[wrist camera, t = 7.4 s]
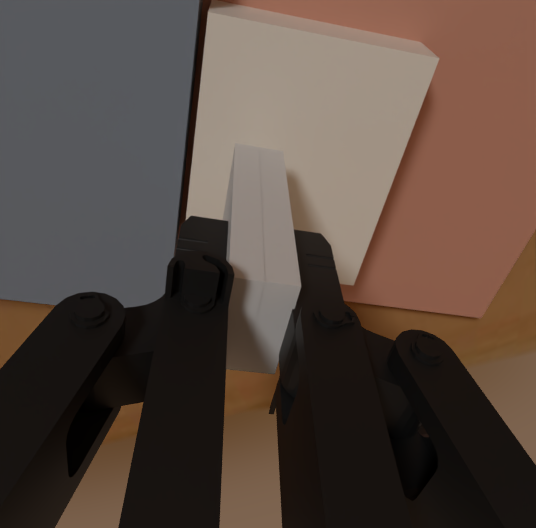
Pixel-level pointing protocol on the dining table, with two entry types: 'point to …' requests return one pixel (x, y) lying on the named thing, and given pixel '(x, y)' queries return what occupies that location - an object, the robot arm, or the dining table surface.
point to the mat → (443, 151)
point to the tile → (308, 117)
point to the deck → (93, 145)
